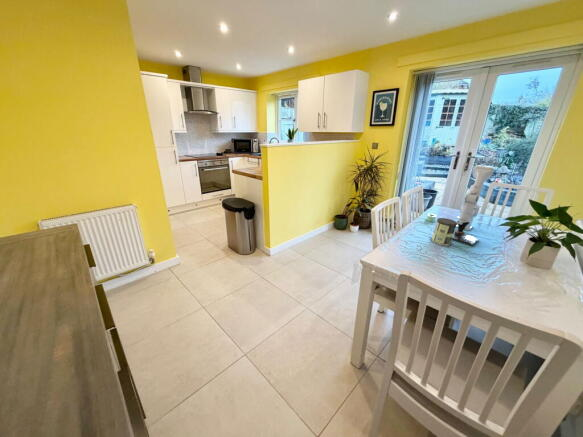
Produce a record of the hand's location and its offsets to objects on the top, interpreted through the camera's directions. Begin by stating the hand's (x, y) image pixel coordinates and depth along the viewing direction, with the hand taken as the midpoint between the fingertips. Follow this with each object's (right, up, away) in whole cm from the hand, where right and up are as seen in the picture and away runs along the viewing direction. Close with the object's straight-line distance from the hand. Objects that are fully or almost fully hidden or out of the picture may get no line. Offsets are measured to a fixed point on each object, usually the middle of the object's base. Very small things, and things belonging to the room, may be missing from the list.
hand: (460, 231), depth 149 cm
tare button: (0, -2, +1) cm, 2 cm away
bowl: (-4, +7, +25) cm, 27 cm away
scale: (-1, -5, -4) cm, 6 cm away
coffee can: (-17, -6, -7) cm, 20 cm away
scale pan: (-1, -3, -8) cm, 8 cm away
